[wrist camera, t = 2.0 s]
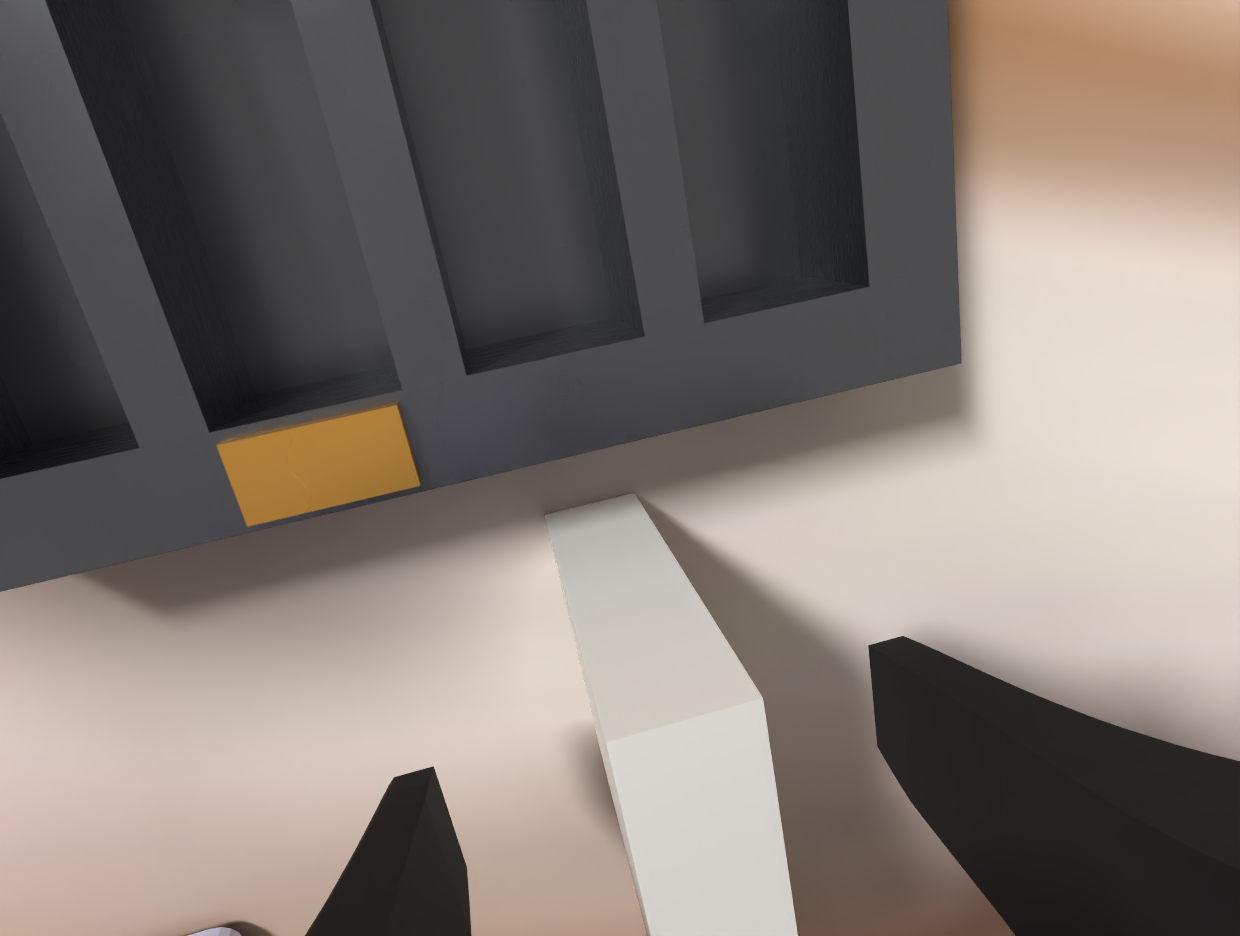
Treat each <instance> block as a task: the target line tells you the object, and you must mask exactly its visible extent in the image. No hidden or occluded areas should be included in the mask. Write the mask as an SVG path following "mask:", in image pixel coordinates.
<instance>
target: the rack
mask: <svg viewBox="0 0 1240 936" xmlns="http://www.w3.org/2000/svg"><path fill="white" fill-rule="evenodd" d="M960 363H961V339H960V313H959V286H958V260H957V234H956V207H955V181H954V155H953V128H952V102H951V76H950V49H949V23H948V0H0V592H1V591H5V590H9V589H13V588H18V587H22V586H26V585H30V584H35V583H39V582H43V581H47V580H51V579H56V578H60V577H64V576H68V575H72V574H77V573H81V572H85V571H89V570H93V569H98V568H102V567H106V566H110V565H114V564H119V563H123V562H127V561H131V560H136V559H140V558H144V557H148V556H152V555H157V554H161V553H165V552H169V551H173V550H178V549H182V548H186V547H190V546H194V545H199V544H203V543H207V542H211V541H215V540H220V539H224V538H228V537H232V536H236V535H241V534H245V533H249V532H253V531H258V530H262V529H266V528H270V527H274V526H279V525H283V524H287V523H291V522H295V521H300V520H304V519H308V518H312V517H316V516H321V515H325V514H329V513H333V512H337V511H342V510H346V509H350V508H354V507H359V506H363V505H367V504H371V503H375V502H380V501H384V500H388V499H392V498H396V497H401V496H405V495H409V494H413V493H417V492H422V491H426V490H430V489H434V488H438V487H443V486H447V485H451V484H455V483H460V482H464V481H468V480H472V479H476V478H481V477H485V476H489V475H493V474H497V473H502V472H506V471H510V470H514V469H518V468H523V467H527V466H531V465H535V464H539V463H544V462H548V461H552V460H556V459H561V458H565V457H569V456H573V455H577V454H582V453H586V452H590V451H594V450H598V449H603V448H607V447H611V446H615V445H619V444H624V443H628V442H632V441H636V440H640V439H645V438H649V437H653V436H657V435H662V434H666V433H670V432H674V431H678V430H683V429H687V428H691V427H695V426H699V425H704V424H708V423H712V422H716V421H720V420H725V419H729V418H733V417H737V416H741V415H746V414H750V413H754V412H758V411H762V410H767V409H771V408H775V407H779V406H784V405H788V404H792V403H796V402H800V401H805V400H809V399H813V398H817V397H821V396H826V395H830V394H834V393H838V392H842V391H847V390H851V389H855V388H859V387H863V386H868V385H872V384H876V383H880V382H885V381H889V380H893V379H897V378H901V377H906V376H910V375H914V374H918V373H922V372H927V371H931V370H935V369H939V368H943V367H948V366H952V365H956V364H960Z"/></svg>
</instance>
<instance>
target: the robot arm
mask: <svg viewBox="0 0 1240 936" xmlns="http://www.w3.org/2000/svg"><path fill="white" fill-rule="evenodd" d="M869 657H870V668H871V679H872V691H873V702H874V714H875V725H876V736H877V746H878V748H879V750H880V752H881V753H882V755H883V757H884V758H885V760H886V762H887V763H888V765H889V767H890V769H891V770H892V772H893V774H894V775H895V777H896V779H897V780H898V782H899V783H900V785H901V787H902V788H903V790H904V792H905V793H906V795H907V796H908V798H909V800H910V801H911V802H912V804H913V805H914V806H915V808H916V809H917V810H918V812H919V813H920V814H921V815H922V817H923V818H924V819H925V821H926V822H927V823H928V824H929V826H930V827H931V828H932V830H933V831H934V832H935V833H936V835H937V836H938V837H939V839H940V840H941V841H942V842H943V844H944V845H945V846H946V847H947V849H948V850H949V851H950V852H951V854H952V855H953V856H954V858H955V859H956V860H957V861H958V863H959V864H960V865H961V866H962V868H963V869H964V870H965V871H966V873H967V874H968V875H969V876H970V878H971V879H972V880H973V881H974V883H975V884H976V885H977V887H978V888H979V889H980V890H981V892H982V893H983V894H984V895H985V897H986V898H987V899H988V900H989V902H990V903H991V904H992V905H993V907H994V908H995V909H996V911H997V912H998V913H999V914H1000V916H1001V917H1002V918H1003V919H1004V921H1005V922H1006V923H1007V925H1008V926H1009V927H1010V929H1011V930H1012V931H1013V933H1014V934H1015V936H1240V761H1236V760H1232V759H1228V758H1224V757H1220V756H1216V755H1212V754H1208V753H1204V752H1200V751H1197V750H1193V749H1189V748H1186V747H1182V746H1179V745H1175V744H1172V743H1169V742H1165V741H1162V740H1159V739H1156V738H1153V737H1149V736H1146V735H1143V734H1140V733H1137V732H1134V731H1130V730H1127V729H1124V728H1121V727H1118V726H1115V725H1112V724H1110V723H1107V722H1104V721H1101V720H1098V719H1095V718H1093V717H1090V716H1088V715H1085V714H1082V713H1080V712H1077V711H1075V710H1072V709H1069V708H1067V707H1064V706H1062V705H1059V704H1056V703H1054V702H1051V701H1049V700H1047V699H1044V698H1042V697H1039V696H1037V695H1034V694H1032V693H1030V692H1027V691H1025V690H1023V689H1020V688H1018V687H1016V686H1013V685H1011V684H1009V683H1007V682H1004V681H1002V680H1000V679H998V678H995V677H993V676H991V675H989V674H986V673H984V672H982V671H980V670H978V669H975V668H973V667H971V666H969V665H967V664H965V663H962V662H960V661H958V660H956V659H954V658H952V657H950V656H947V655H945V654H943V653H941V652H939V651H936V650H934V649H932V648H930V647H928V646H925V645H923V644H921V643H919V642H916V641H914V640H912V639H909V638H907V637H904V636H901V637H897V638H894V639H890V640H887V641H883V642H879V643H876V644H872V645H869ZM188 936H241V934H240V933H239V932H237V931H235V930H233V929H231V928H225V927H218V928H212V929H208V930H205V931H201V932H198V933H194V934H191V935H188ZM305 936H471V923H470V905H469V891H468V877H467V866H466V863H465V860H464V857H463V854H462V851H461V848H460V845H459V842H458V839H457V836H456V833H455V830H454V827H453V824H452V821H451V818H450V815H449V812H448V809H447V806H446V803H445V800H444V797H443V794H442V790H441V787H440V784H439V781H438V778H437V775H436V772H435V769H434V766H433V767H430V768H426V769H423V770H419V771H415V772H412V773H408V774H405V775H401V776H397V777H394V778H393V780H392V781H391V783H390V784H389V786H388V788H387V790H386V792H385V794H384V796H383V798H382V800H381V802H380V804H379V806H378V808H377V810H376V811H375V813H374V815H373V817H372V819H371V821H370V823H369V825H368V827H367V829H366V831H365V833H364V835H363V836H362V838H361V840H360V842H359V844H358V846H357V848H356V850H355V852H354V853H353V855H352V857H351V859H350V860H349V862H348V864H347V866H346V868H345V869H344V871H343V873H342V875H341V876H340V878H339V880H338V882H337V884H336V885H335V887H334V889H333V891H332V892H331V894H330V896H329V898H328V899H327V901H326V903H325V904H324V906H323V908H322V909H321V911H320V912H319V914H318V916H317V917H316V919H315V920H314V922H313V924H312V925H311V927H310V928H309V930H308V932H307V933H306V935H305Z"/></svg>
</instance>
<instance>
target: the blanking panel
mask: <svg viewBox="0 0 1240 936" xmlns="http://www.w3.org/2000/svg"><path fill="white" fill-rule="evenodd" d="M545 519H546V523H547V528H548V532H549V536H550V540H551V545H552V549H553V553H554V557H555V561H556V566H557V570H558V574H559V578H560V582H561V587H562V591H563V595H564V599H565V604H566V608H567V612H568V616H569V620H570V625H571V629H572V633H573V637H574V642H575V646H576V650H577V654H578V658H579V663H580V667H581V671H582V675H583V680H584V684H585V688H586V692H587V696H588V701H589V705H590V709H591V713H592V718H593V722H594V726H595V730H596V734H597V739H598V743H599V747H600V751H601V756H602V760H603V764H604V768H605V772H606V776H607V780H608V784H609V788H610V791H611V795H612V799H613V803H614V807H615V811H616V815H617V819H618V823H619V827H620V831H621V835H622V839H623V843H624V846H625V850H626V854H627V858H628V862H629V866H630V870H631V874H632V878H633V882H634V886H635V890H636V894H637V898H638V901H639V905H640V909H641V913H642V917H643V921H644V925H645V929H646V933H647V936H798V933H797V926H796V920H795V913H794V906H793V899H792V892H791V885H790V879H789V872H788V865H787V858H786V851H785V844H784V838H783V831H782V824H781V817H780V810H779V804H778V797H777V790H776V783H775V776H774V769H773V763H772V756H771V749H770V742H769V735H768V728H767V722H766V715H765V708H764V701H763V697H762V696H761V694H760V692H759V691H758V689H757V688H756V686H755V684H754V683H753V681H752V680H751V678H750V677H749V675H748V673H747V672H746V670H745V669H744V667H743V665H742V664H741V662H740V661H739V659H738V657H737V656H736V654H735V653H734V651H733V649H732V648H731V646H730V645H729V643H728V641H727V640H726V638H725V637H724V635H723V633H722V632H721V630H720V629H719V627H718V626H717V624H716V622H715V621H714V619H713V618H712V616H711V614H710V613H709V611H708V610H707V608H706V606H705V605H704V603H703V602H702V600H701V598H700V597H699V595H698V594H697V592H696V590H695V589H694V587H693V586H692V584H691V583H690V581H689V579H688V578H687V576H686V575H685V573H684V571H683V570H682V568H681V567H680V565H679V563H678V562H677V560H676V559H675V557H674V555H673V554H672V552H671V551H670V549H669V547H668V546H667V544H666V543H665V541H664V539H663V538H662V536H661V535H660V533H659V532H658V530H657V528H656V527H655V525H654V524H653V522H652V520H651V519H650V517H649V516H648V514H647V512H646V511H645V509H644V508H643V506H642V504H641V503H640V501H639V500H638V498H637V496H636V495H635V493H631V494H627V495H623V496H619V497H615V498H611V499H606V500H602V501H598V502H594V503H590V504H586V505H582V506H578V507H574V508H570V509H566V510H562V511H558V512H554V513H550V514H546V515H545Z"/></svg>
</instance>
